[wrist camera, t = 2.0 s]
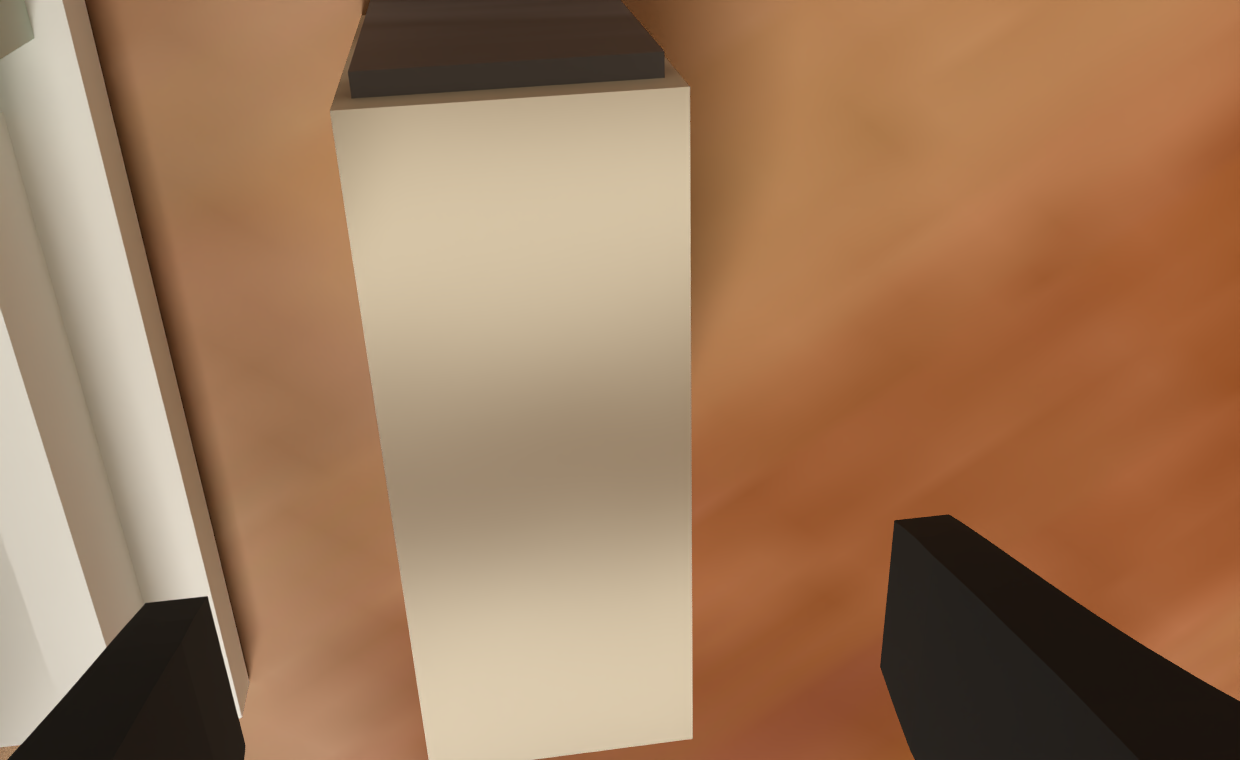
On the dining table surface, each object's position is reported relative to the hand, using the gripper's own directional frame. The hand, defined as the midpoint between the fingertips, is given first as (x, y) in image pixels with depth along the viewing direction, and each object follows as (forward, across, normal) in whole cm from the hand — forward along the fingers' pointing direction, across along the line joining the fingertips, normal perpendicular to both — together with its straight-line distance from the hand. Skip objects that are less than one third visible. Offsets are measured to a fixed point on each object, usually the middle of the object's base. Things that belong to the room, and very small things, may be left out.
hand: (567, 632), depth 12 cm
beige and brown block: (+9, 0, 0) cm, 9 cm away
